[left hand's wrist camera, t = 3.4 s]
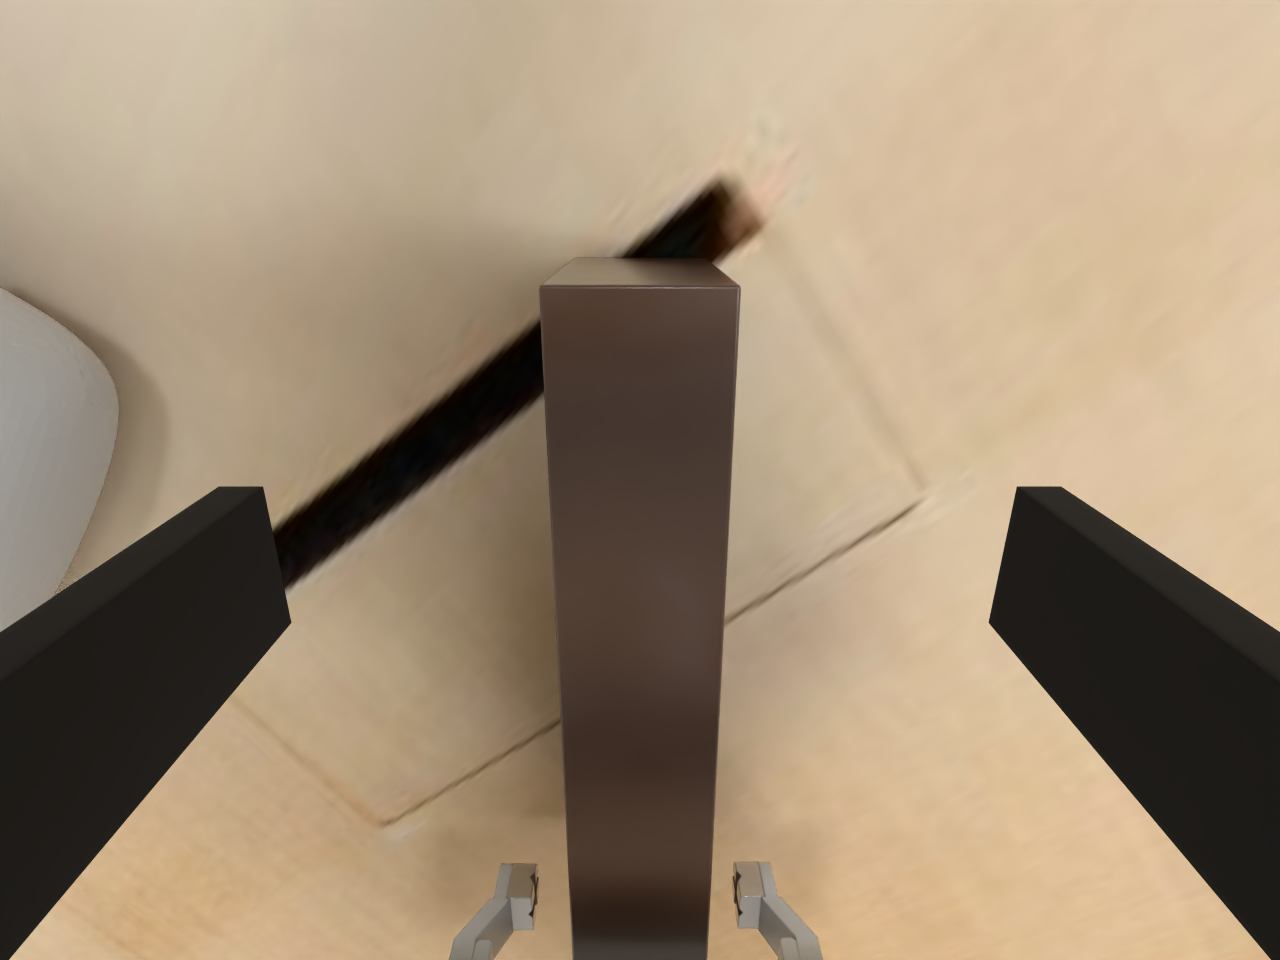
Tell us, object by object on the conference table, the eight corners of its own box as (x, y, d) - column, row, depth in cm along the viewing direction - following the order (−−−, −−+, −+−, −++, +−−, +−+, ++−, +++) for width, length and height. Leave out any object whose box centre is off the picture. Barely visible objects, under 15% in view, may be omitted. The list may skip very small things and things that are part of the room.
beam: (573, 257, 27) (538, 285, 17) (706, 257, 27) (741, 285, 17) (592, 818, 37) (575, 1026, 27) (687, 818, 37) (704, 1026, 27)
